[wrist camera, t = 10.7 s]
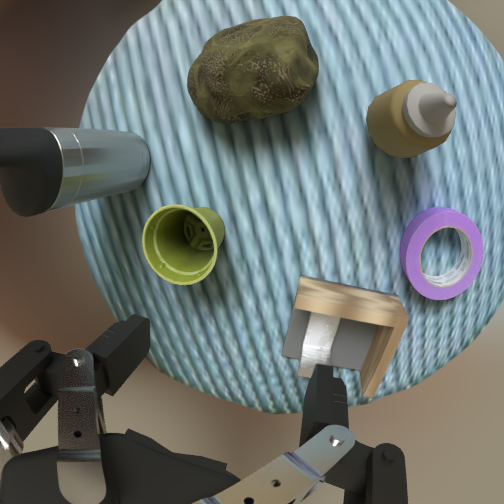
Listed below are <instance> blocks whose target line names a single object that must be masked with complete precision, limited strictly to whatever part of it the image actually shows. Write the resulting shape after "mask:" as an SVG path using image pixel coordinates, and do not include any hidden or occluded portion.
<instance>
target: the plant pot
mask: <svg viewBox="0 0 504 504" xmlns="http://www.w3.org/2000/svg"><path fill="white" fill-rule="evenodd" d="M187 227H189V232H190V236H189V235H188V232H187ZM202 228H204V231H201V229H202ZM224 235H225V227H224V223H223V221H222V219H221V217H220V216H219V215H218V214H217V213H216V212H214V211H213V210H211V209H209V208H205V207H200V208H190V207H188V206H184V205H168V206H164V207H162V208H160V209H158V210H157V211H155V212H154V213H153V214H152V215H151V216H150V217H149V219H148V220H147V222H146V224H145V227H144V231H143V237H142V244H143V250H144V254H145V257H146V259H147V261H148V263H149V265H150V266H151V268H152V269H153V270H154V271H155V272H156V273H157V274H158V275H159V276H160V277H162V278H163V279H165V280H166V281H168V282H171V283H174V284H178V285H190V284H194V283H197V282H199V281H201V280H203V279H204V278H205V277H206V276H207V275H208V274H209V273H210V272H211V270H212V269H213V267H214V265H215V263H216V260H217V254H218V248H219V246H220V244H221V243H222V241H223V239H224ZM208 244H211V246H210V247H203V246H202V245H208Z"/></svg>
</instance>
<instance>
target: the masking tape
mask: <svg viewBox="0 0 504 504" xmlns="http://www.w3.org/2000/svg"><path fill="white" fill-rule="evenodd" d="M448 227H451V228H454V229H455V230H456V231H457V233H458V235H459V237H460V241H461V252H460V256H459V258H458V261H457V262H456V264H455V266H454V267H453V268H452V269H451V270H450V271H449V272H447V273H445V274H443V275H441V276H428V275H426V274H424V273H423V272H422V269H421V253H422V249H423V247H424V245H425V243H426V241H427V240H428V238H429V237H430V236H431V235H432V234H433V233H435V232H436V231H438V230H440V229H443V228H448ZM482 259H483V242H482V237H481V234H480V232H479V230H478V228H477V226H476V225H475V224H474V222H473V221H472V220H471V219H470V218H468V217H467V216H465V215H463V214H461V213H459V212H457V211H454V210H452V209H450V208H446V207H433V208H430V209H427V210H425V211H423V212H421V213H419V214H418V215H417V216H416V217H415V218H414V219H413V220H412V221H411V222H410V223H409V225H408V226H407V228H406V230H405V232H404V234H403V237H402V240H401V244H400V262H401V266H402V269H403V271H404V273H405V275H406V276H407V278H408V279H409V281H410V282H411V284H412V285H413V287H414V288H415V289H416V290H417V291H418V292H419V293H420V294H421V295H423V296H425V297H427V298H429V299H433V300H446V299H450V298H453V297H455V296H457V295H459V294H460V293H462V292H463V291H464V290H466V289H467V288H468V287H469V286H470V285H471V283H472V282H473V281H474V279H475V278H476V276H477V274H478V272H479V270H480V267H481V263H482Z"/></svg>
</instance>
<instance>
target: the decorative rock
mask: <svg viewBox="0 0 504 504" xmlns="http://www.w3.org/2000/svg"><path fill="white" fill-rule="evenodd" d="M318 71H319V65H318V57H317V54H316V52H315V51H314V49H313V47H312V45H311V43H310V40H309V37H308V34H307V31H306V29H305V26H304V24H303V22H302V21H301V20H300V19H298V18H296V17H292V16H280V17H274V18H266V19H257V20H252V21H248V22H245V23H242V24H240V25H237V26H234V27H231V28H227V29H224V30H221V31H220V32H218V33H217V34H215V35H214V36H213V37H211V38H210V39H209V40H208V41H207V42H206V44H205V45H204V48H203V51H202V53H201V54H200V55H199V57H198V58H197V59H196V60H195V61H194V63H193V64H192V66H191V68H190V70H189V73H188V79H187V88H188V92H189V94H190V97H191V99H192V101H193V103H194V104H195V106H196V107H197V109H198V110H199V112H200V113H201V114H202V115H204V116H205V117H206V118H208V119H210V120H213V121H215V122H218V123H235V122H240V121H247V120H258V119H264V118H268V117H272V116H275V115H277V114H281V113H288V112H291V111H293V110H294V109H295V108H296V107H297V106H298V105H300V104H301V103H302V101H303V100H304V99H305V98H306V96H307V95H308V93H309V92H310V90H311V89H312V88H313V84H314V82H315V80H316V78H317V76H318Z"/></svg>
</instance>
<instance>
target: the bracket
mask: <svg viewBox="0 0 504 504" xmlns="http://www.w3.org/2000/svg"><path fill="white" fill-rule="evenodd" d="M340 318H341V317H336V316H331V315H326V314H321V313H316V312H311V313H310V317H309V320H308V324H307V328H306V332H305V335H304V339H303V343H302V347H301V355H300V362H299V369H298V376H303V377H308V378H311V376H312V373H313V371H314V368H315V365H316V364H317V363H319V364H324V365H330V366H331V346H332V343H333V340H334V337H335V334H336V331H337V328H338V325H339V321H340Z"/></svg>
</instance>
